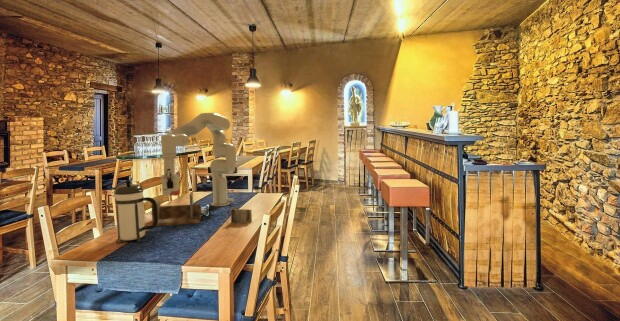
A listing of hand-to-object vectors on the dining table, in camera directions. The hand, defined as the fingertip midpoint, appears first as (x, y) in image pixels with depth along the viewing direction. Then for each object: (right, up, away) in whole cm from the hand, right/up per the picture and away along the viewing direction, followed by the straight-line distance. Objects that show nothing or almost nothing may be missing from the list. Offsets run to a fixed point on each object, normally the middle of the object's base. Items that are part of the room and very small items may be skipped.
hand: (171, 186), depth 206 cm
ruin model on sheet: (+41, -21, -1) cm, 46 cm away
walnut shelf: (+3, -20, +3) cm, 21 cm away
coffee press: (-6, -24, -29) cm, 38 cm away
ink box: (0, -5, +1) cm, 5 cm away
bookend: (+13, -18, +5) cm, 23 cm away
